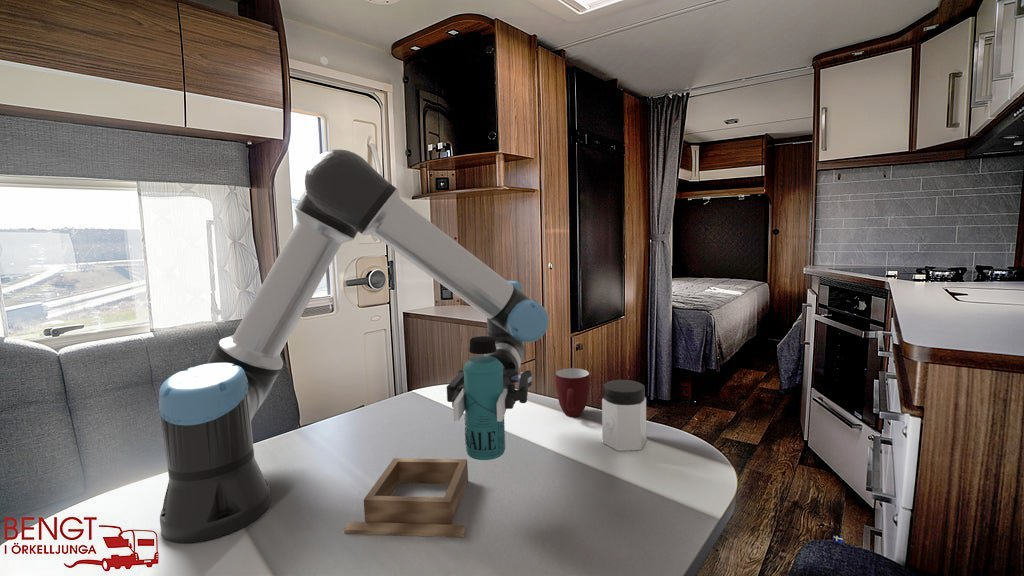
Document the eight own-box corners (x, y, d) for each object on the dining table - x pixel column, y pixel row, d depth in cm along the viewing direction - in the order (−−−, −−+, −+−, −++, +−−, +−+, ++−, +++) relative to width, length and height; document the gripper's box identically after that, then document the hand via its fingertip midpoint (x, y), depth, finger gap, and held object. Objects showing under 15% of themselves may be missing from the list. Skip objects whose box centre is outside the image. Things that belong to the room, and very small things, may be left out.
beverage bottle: (498, 448, 81) (495, 331, 78) (512, 466, 74) (509, 339, 72) (460, 455, 78) (456, 335, 76) (472, 474, 72) (467, 344, 70)
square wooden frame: (344, 533, 71) (342, 508, 71) (382, 479, 87) (381, 458, 86) (463, 537, 70) (462, 511, 69) (481, 481, 85) (480, 459, 85)
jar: (594, 439, 100) (593, 384, 99) (623, 430, 104) (622, 376, 103) (625, 456, 92) (624, 396, 91) (655, 445, 97) (655, 387, 95)
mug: (592, 424, 108) (591, 381, 106) (556, 424, 108) (555, 381, 107) (589, 407, 118) (588, 368, 117) (556, 407, 119) (555, 368, 118)
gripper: (548, 386, 92) (542, 438, 70) (453, 385, 95) (416, 435, 72) (547, 348, 92) (541, 387, 69) (451, 348, 94) (414, 386, 71)
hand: (477, 412), depth 70 cm, fingers closed on beverage bottle, 6 cm apart
